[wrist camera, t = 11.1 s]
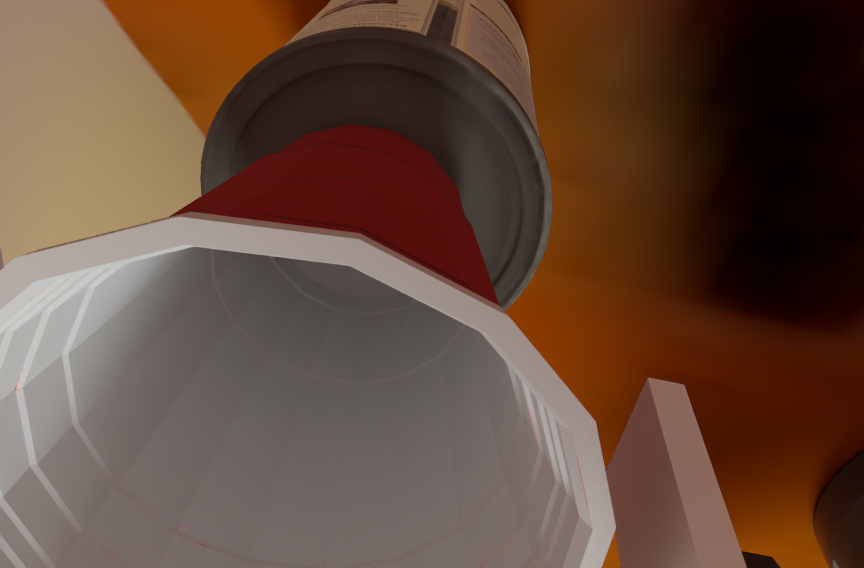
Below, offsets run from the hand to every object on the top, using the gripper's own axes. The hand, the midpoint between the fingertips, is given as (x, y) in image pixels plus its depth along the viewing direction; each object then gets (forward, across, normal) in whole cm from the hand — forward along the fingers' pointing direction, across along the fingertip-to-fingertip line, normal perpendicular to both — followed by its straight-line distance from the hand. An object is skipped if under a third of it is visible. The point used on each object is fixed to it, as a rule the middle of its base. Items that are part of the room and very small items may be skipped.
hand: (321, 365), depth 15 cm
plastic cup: (+7, 0, 0) cm, 7 cm away
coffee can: (+21, 0, 0) cm, 21 cm away
